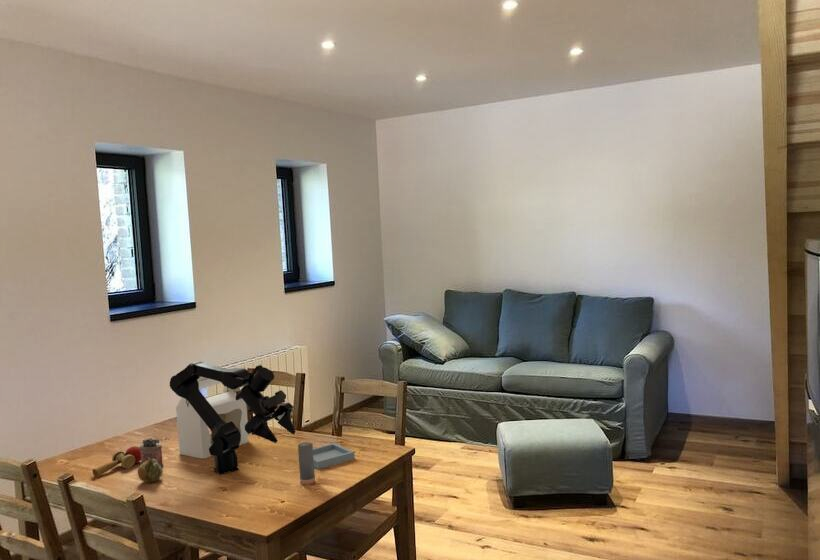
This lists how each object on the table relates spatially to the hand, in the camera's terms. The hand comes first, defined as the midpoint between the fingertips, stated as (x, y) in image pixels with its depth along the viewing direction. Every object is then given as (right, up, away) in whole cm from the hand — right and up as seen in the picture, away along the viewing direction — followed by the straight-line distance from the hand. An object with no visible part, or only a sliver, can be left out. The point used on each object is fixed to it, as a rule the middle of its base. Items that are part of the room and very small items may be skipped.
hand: (285, 437), depth 212 cm
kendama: (-61, -16, +20) cm, 66 cm away
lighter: (-50, -15, +20) cm, 56 cm away
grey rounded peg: (+7, -13, -3) cm, 15 cm away
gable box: (-33, -13, +38) cm, 52 cm away
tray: (+11, -12, +18) cm, 24 cm away
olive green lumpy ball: (-45, -16, +7) cm, 48 cm away
